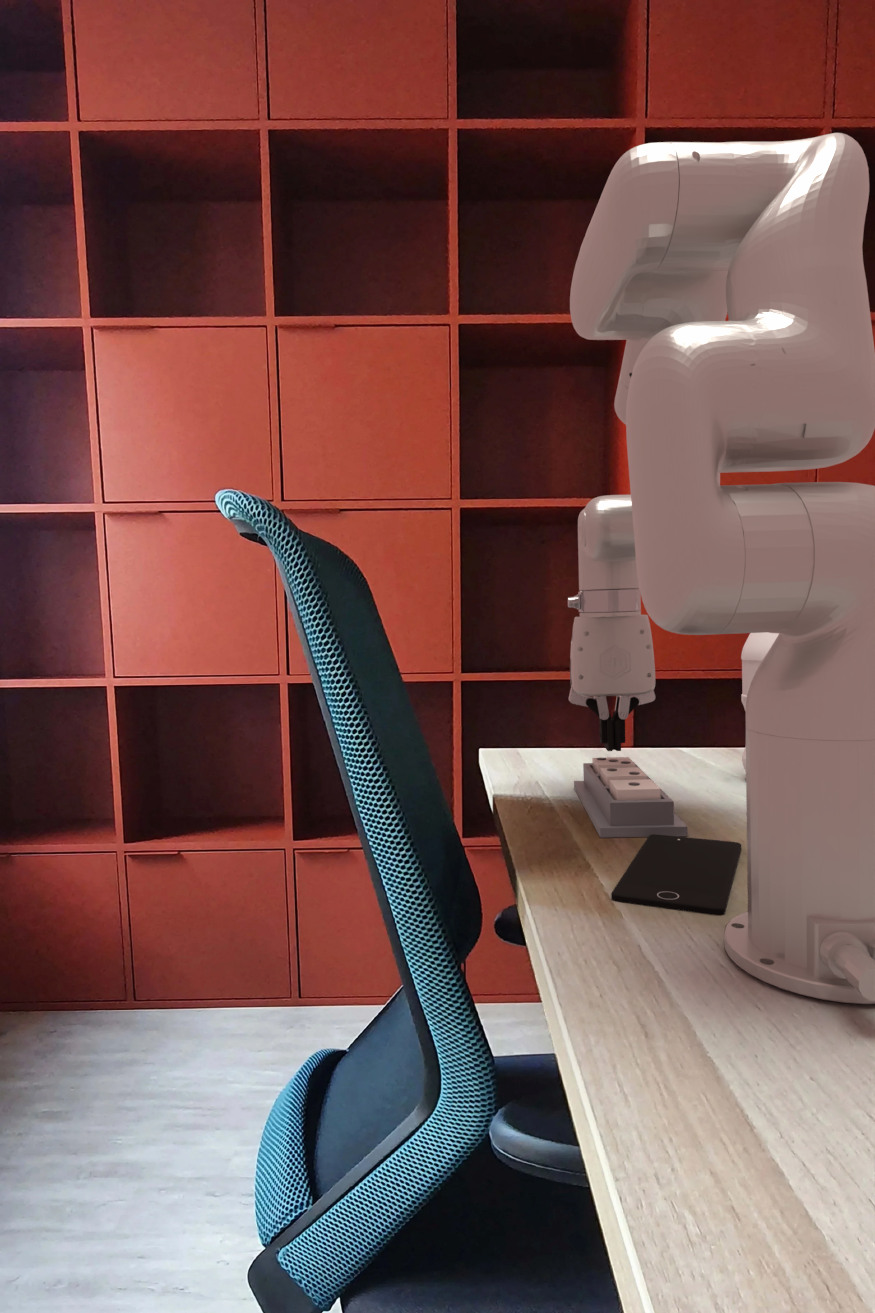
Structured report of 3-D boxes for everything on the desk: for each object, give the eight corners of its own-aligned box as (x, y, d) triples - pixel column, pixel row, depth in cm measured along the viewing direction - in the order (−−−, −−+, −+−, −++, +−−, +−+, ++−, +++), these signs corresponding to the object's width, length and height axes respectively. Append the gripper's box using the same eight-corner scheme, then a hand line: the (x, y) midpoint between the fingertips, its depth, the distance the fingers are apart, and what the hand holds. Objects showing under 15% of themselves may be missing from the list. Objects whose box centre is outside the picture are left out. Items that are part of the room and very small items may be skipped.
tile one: (660, 807, 81) (660, 788, 81) (617, 808, 82) (616, 789, 81) (651, 796, 86) (650, 778, 86) (609, 797, 86) (609, 779, 86)
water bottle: (789, 774, 105) (787, 593, 104) (809, 786, 98) (808, 592, 97) (735, 775, 106) (733, 595, 104) (751, 787, 99) (749, 594, 97)
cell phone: (610, 905, 63) (609, 894, 63) (650, 842, 79) (650, 833, 79) (724, 921, 59) (724, 909, 59) (741, 851, 75) (741, 842, 75)
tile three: (635, 780, 94) (635, 763, 94) (598, 781, 95) (597, 764, 94) (628, 772, 99) (628, 756, 99) (592, 773, 99) (592, 757, 99)
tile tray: (687, 836, 79) (687, 802, 79) (600, 837, 80) (599, 804, 79) (642, 786, 101) (641, 760, 101) (574, 788, 102) (573, 762, 101)
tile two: (647, 792, 88) (646, 774, 88) (607, 793, 88) (606, 775, 88) (638, 783, 92) (638, 766, 92) (600, 784, 93) (600, 767, 92)
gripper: (552, 606, 92) (556, 756, 93) (678, 602, 91) (680, 753, 93) (547, 606, 100) (550, 745, 101) (662, 602, 99) (664, 742, 100)
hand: (612, 748), depth 97 cm, fingers closed
